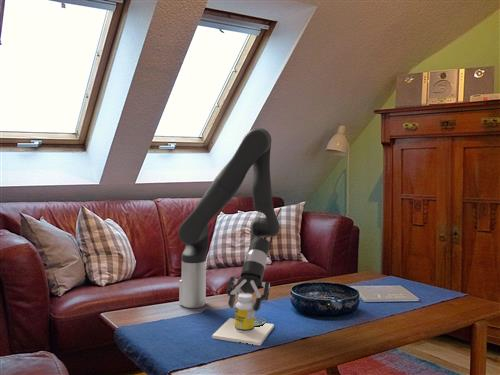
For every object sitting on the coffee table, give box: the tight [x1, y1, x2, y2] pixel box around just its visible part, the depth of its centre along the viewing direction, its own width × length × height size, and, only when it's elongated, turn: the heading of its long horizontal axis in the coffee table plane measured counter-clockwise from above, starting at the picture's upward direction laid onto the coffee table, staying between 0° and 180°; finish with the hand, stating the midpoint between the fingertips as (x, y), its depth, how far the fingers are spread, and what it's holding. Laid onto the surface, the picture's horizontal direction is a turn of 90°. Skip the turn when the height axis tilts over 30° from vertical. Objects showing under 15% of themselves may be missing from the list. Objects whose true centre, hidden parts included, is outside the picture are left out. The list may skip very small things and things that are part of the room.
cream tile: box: [211, 317, 275, 346], centre depth 161 cm, size 16×16×1 cm
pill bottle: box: [234, 292, 256, 332], centre depth 161 cm, size 6×6×12 cm
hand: (243, 308), depth 159 cm, fingers open, 8 cm apart
